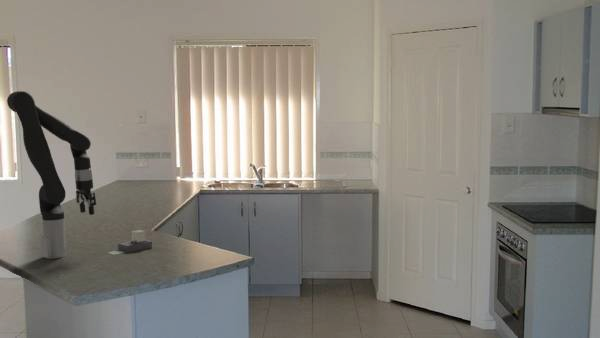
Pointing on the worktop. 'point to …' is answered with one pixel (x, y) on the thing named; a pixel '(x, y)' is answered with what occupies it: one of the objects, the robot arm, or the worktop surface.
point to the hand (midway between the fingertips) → (87, 213)
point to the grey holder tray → (134, 246)
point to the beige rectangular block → (138, 236)
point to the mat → (116, 252)
